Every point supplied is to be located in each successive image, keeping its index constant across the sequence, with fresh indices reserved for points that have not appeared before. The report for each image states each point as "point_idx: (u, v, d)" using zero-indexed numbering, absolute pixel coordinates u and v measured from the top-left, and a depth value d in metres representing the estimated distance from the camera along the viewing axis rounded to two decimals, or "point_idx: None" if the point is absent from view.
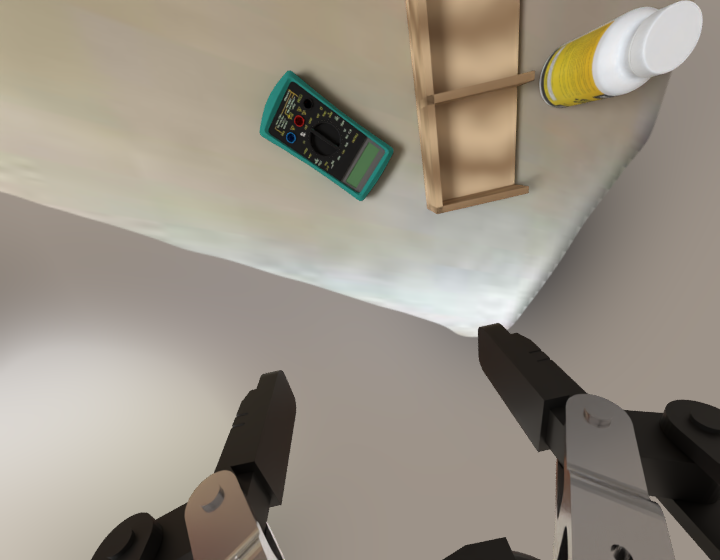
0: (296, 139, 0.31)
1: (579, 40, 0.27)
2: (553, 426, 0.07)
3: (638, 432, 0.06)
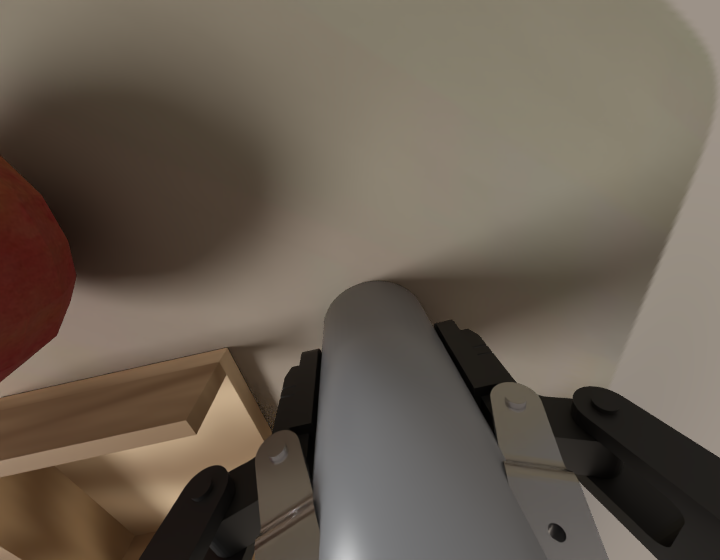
0: None
1: None
2: (484, 412, 0.08)
3: (551, 415, 0.07)
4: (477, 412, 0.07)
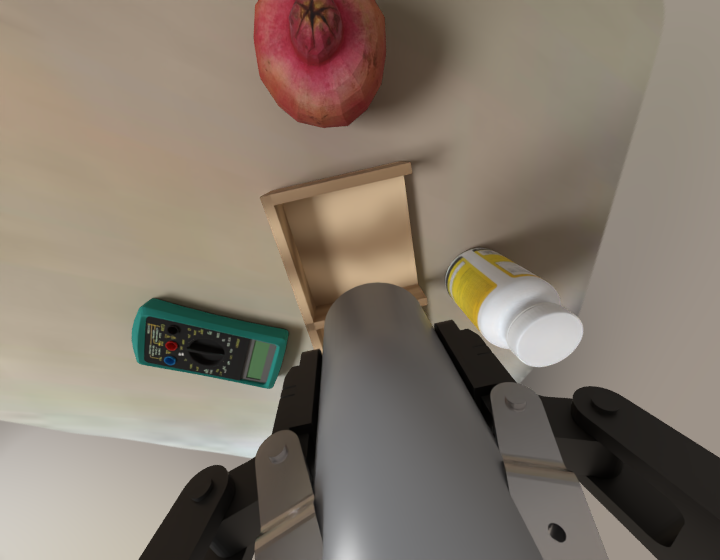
0: (176, 360, 0.28)
1: (472, 274, 0.24)
2: (484, 412, 0.08)
3: (551, 415, 0.07)
4: (477, 414, 0.07)
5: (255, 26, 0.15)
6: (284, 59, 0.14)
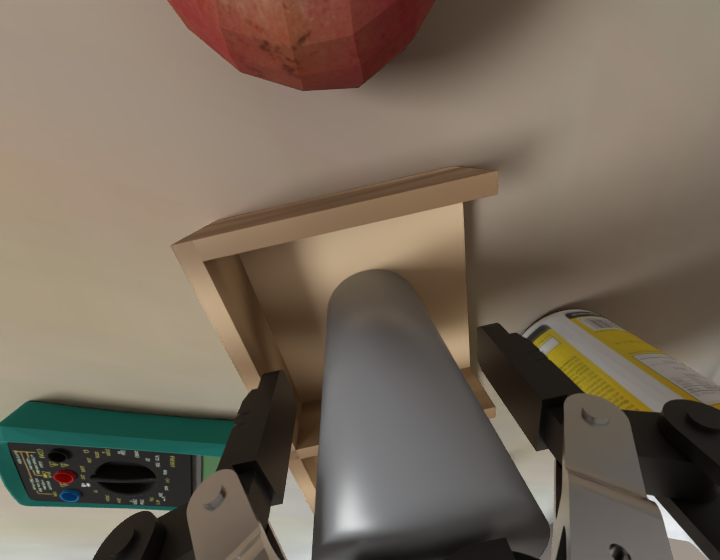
0: (81, 493, 0.17)
1: (585, 374, 0.13)
2: (551, 425, 0.07)
3: (636, 431, 0.06)
4: (458, 371, 0.08)
5: None
6: None
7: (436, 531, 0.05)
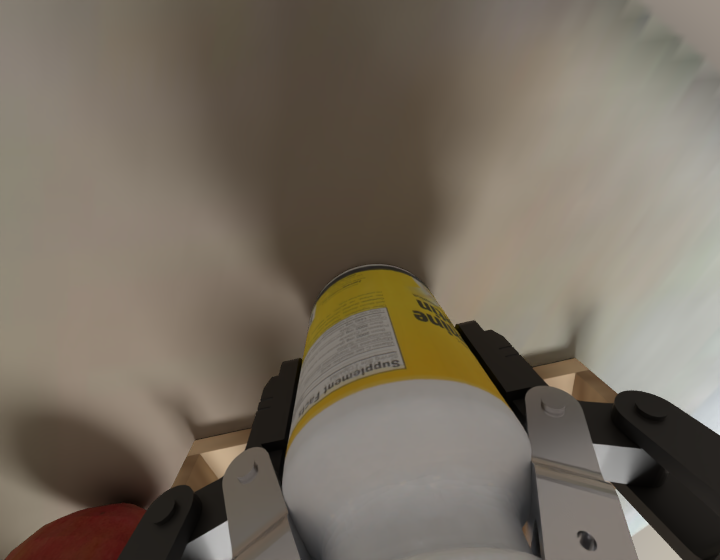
0: None
1: None
2: (516, 416, 0.08)
3: (590, 421, 0.07)
4: None
5: None
6: None
7: None
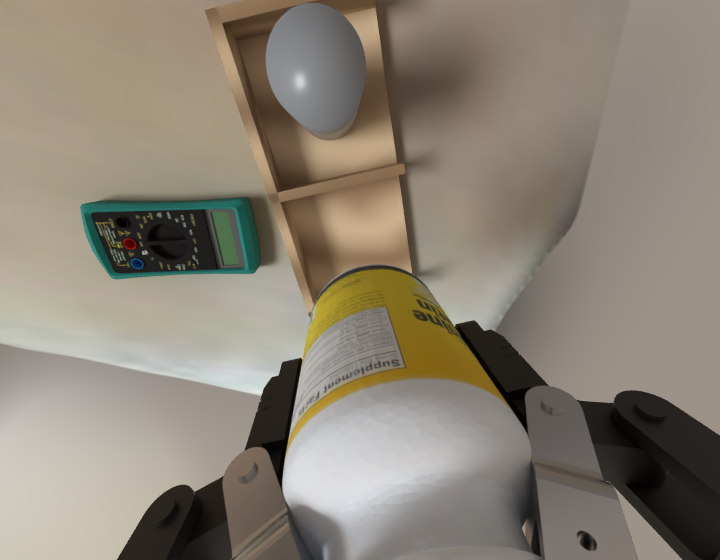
0: (143, 261, 0.26)
1: None
2: (516, 416, 0.08)
3: (590, 421, 0.07)
4: None
5: None
6: None
7: (311, 36, 0.13)
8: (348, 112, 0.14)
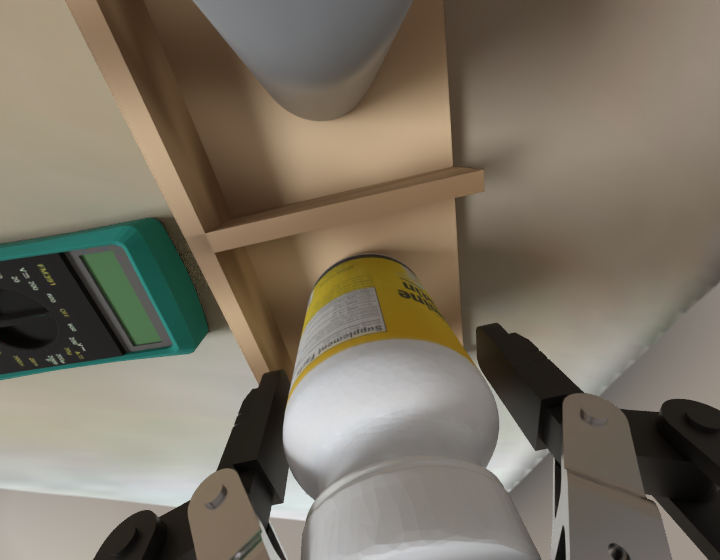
0: None
1: None
2: (550, 425, 0.07)
3: (634, 431, 0.06)
4: None
5: None
6: None
7: None
8: None
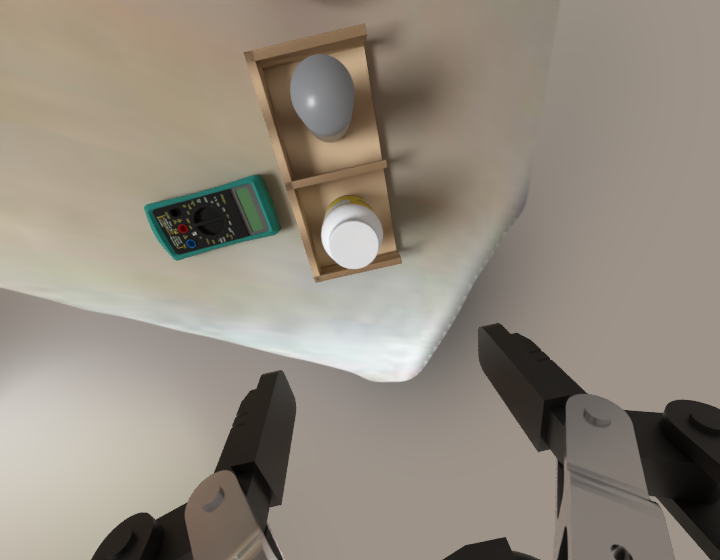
0: (195, 241, 0.34)
1: None
2: (553, 426, 0.07)
3: (638, 432, 0.06)
4: None
5: None
6: None
7: (315, 75, 0.21)
8: (348, 115, 0.22)
